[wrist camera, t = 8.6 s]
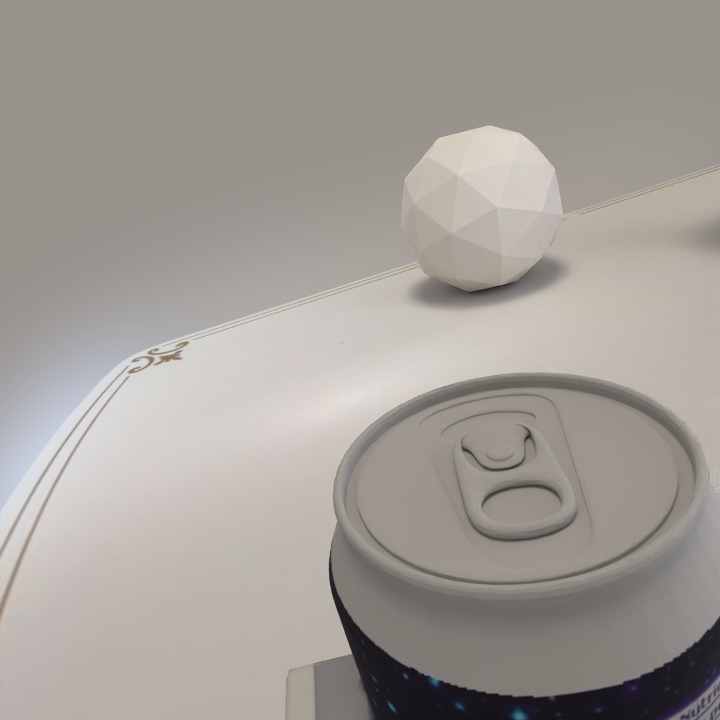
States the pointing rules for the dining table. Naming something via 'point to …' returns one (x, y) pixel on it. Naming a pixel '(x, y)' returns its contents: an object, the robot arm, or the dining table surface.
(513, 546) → the beverage can
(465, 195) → the ball
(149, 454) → the dining table surface
